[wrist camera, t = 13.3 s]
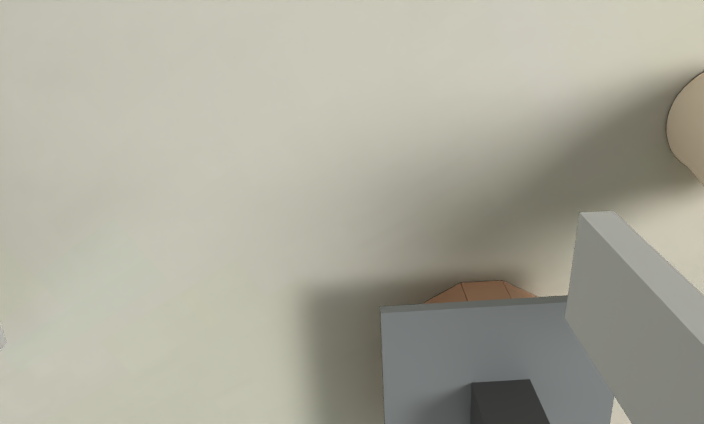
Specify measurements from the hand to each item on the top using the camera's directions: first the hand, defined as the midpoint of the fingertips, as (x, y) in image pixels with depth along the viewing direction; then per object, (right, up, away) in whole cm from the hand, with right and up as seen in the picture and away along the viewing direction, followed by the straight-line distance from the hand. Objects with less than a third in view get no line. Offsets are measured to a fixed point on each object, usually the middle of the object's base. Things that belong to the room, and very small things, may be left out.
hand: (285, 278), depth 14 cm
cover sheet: (+12, -12, +29) cm, 34 cm away
